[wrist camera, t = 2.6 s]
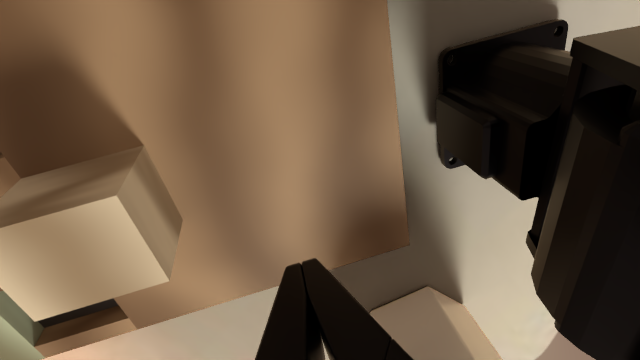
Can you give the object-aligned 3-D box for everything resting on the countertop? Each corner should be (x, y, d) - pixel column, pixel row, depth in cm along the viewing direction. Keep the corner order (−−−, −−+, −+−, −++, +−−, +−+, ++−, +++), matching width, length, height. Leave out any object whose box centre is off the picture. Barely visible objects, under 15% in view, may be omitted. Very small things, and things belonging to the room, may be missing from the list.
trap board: (364, -85, 14) (408, -107, 10) (399, 229, 22) (429, 275, 18) (-348, 82, 12) (-585, 124, 8) (-14, 355, 20) (-65, 432, 17)
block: (143, 145, 15) (116, 195, 11) (183, 219, 17) (169, 281, 13) (21, 178, 14) (-47, 241, 11) (76, 250, 16) (34, 321, 13)
